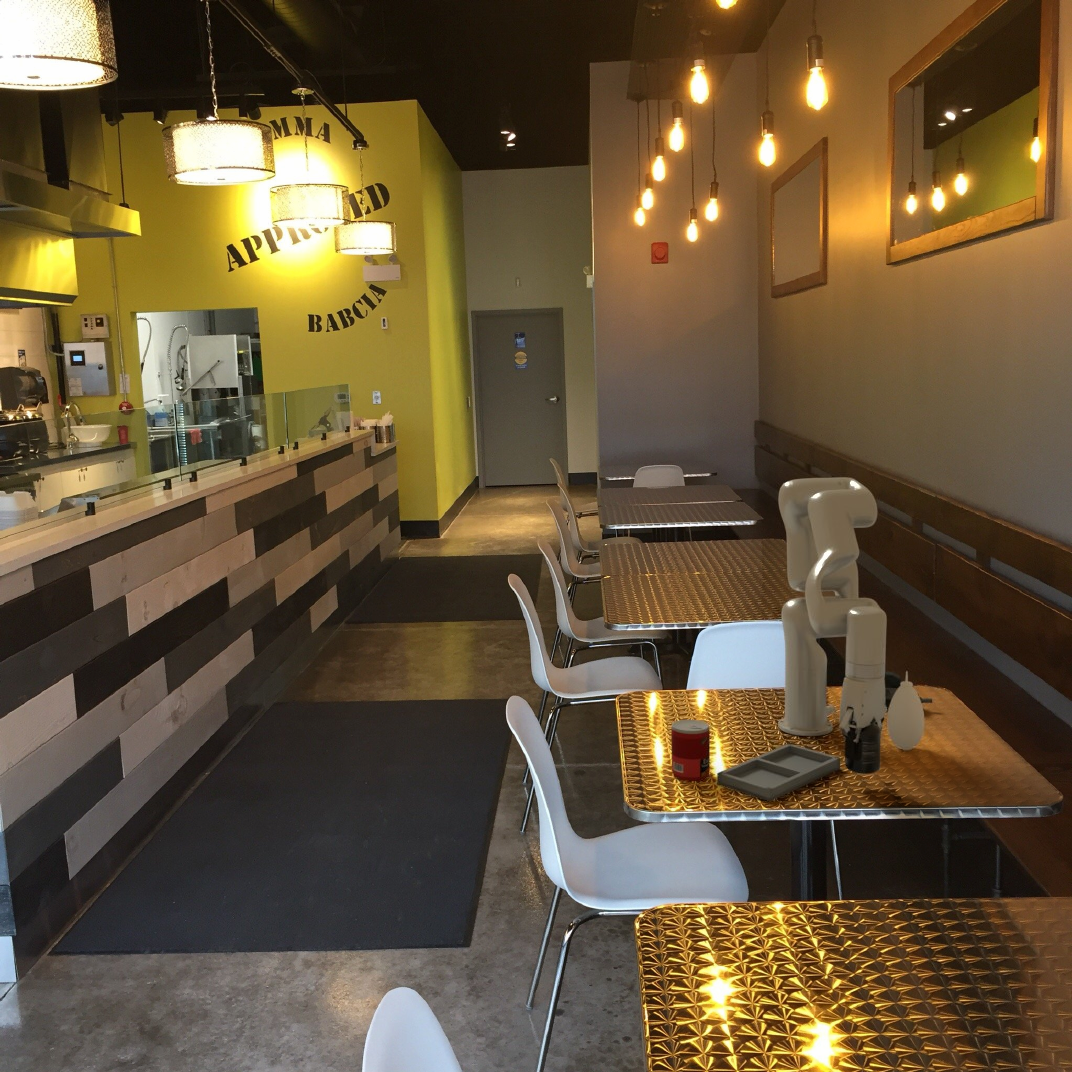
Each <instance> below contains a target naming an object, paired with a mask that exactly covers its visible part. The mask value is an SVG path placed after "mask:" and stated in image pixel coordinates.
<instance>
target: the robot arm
mask: <svg viewBox="0 0 1072 1072" xmlns="http://www.w3.org/2000/svg"><path fill="white" fill-rule="evenodd" d="M778 509H779V512H780V516H781V519H782V521H783V524H784V529H785V532H786V534H785V535H786V563H787V564H786V565H787V566H786V567H787V569H786V571H787V574H786V575H787V582H788V585H789V587H790V588H791V589H792V590H793V591H796V592H797V591H798V592H804V596H803V597H802V596H801V597H796V598H791V599H789V600H788V601H786V602H785V603H784V604H783V606H782V608H781V624H782V629H783V637H784V652H785V654H784V655H785V657H784V661H785V662H784V663H785V665H784V666H785V668H784V673H785V674H784V680H785V681H784V717H782V718H781V719H780V720H778V722H777V724H778V725H777V727H778V729H779V730H781V731H782V732H784V733H787V734H790V735H794V736H800V737H802V736H803V737H818V736H823V735H824V736H825V735H827V734H830V733H831V732H833V729H834V725H833V723H832V722H831V721H830V720H828V717H829V715H831V714H834V713H836V712H835V711H836V707H835V706H834V705H832V704H831V705H827V684H828V683H827V682H828V681H827V677H828V676H827V674H828V673H827V672H828V671H827V670H828V669H827V665H828V664H827V663H828V658H827V654H826V651H824V649H823V648H822V647H821V646H820V645H819V643H818V642H817V639H821V638H838V637H839V638H840V637H841V638H842V637H844V638H846V639H845V640H846V641H845V672H844V673H845V677H844V678H843V683H842V686H841V687H842V689H841V696H840V705H839V719H838V720H839V726H838V729H839V730H840V732H841V735H842V736H843V739H844V758H845V757H846V758H848V759H852V760H855V761H859V760H860V753H861V742H860V741H859V738H860V734H861V730H862V728H864V727H866V726H868V725H871V724H870V722H871V721H872V719H874V716H875V720H876V722H875V723H876V724H877V725H878V726H879V727H880V729H881V732H882V731H883V723H884V721H885V717H886V714H887V713H888V709H887V707H886V706H885V680H884V678H885V671H886V651H887V650H886V648H887V647H886V645H887V621H888V619H887V613H886V612H885V611H884V610H883V609H882V608H881V607H880V605H879V604H878V602H877V601H876V600H874V599H872V598H871V597H859V571H858V565H857V559H858V557H859V555H860V549H859V545H858V541H857V537H856V532H855V529H856V528H857V529H858V528H861V529H862V528H869V527H872V526H873V525H874V524H875V523H876V521H877V518H878V505H877V502H876V498H875V497H874V494H873V493H872V492H871V491H870V490H869V489H868V488H867V487H866V486H864V485H863V484H862V483H861V482H859V481H858V480H856V479H855V478H853V477H846V476H845V477H841V476H840V477H810V478H807V477H806V478H797V479H791V480H788V481H786V482H783V484H782V485H781V487H780V488H779V491H778ZM831 591H832V592H834V594H835V596H831V595H830V596H823V592H831ZM852 722H855V723H857V725H856V726H855V725H852ZM851 728H854V729H856V732H855V734H854V733H853V732H852V731H851Z"/></svg>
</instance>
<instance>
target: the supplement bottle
mask: <svg viewBox="0 0 1072 1072" xmlns="http://www.w3.org/2000/svg"><path fill="white" fill-rule="evenodd" d="M875 722H876V720H875V716H874V719H872V721H871V722H870V724H871V725H868V726H866V727H864V728H862V730H861V734H860V738H859V741H860V742H861V753H860V760H859V761H855V760H852V759H848V758H846V757H845V756H844V760H845V761H844V762H845V763H844V764H845V767H846V769H847V770H848V771H850V772H853V773H856V774H860V775H861V774H862V775H871V774H875V773H877V772H878V771H880V769H881V755H882V754H881V748H882V747H881V745H882V739H881V737H882V731H881V729H880V727H879V726H878V725H877V724H876V723H875ZM852 725H855V726H856V725H857V723H855V722H852ZM851 731H852V732H853V733H854V734H855V732H856V729H854V728H851Z"/></svg>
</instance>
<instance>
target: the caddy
mask: <svg viewBox="0 0 1072 1072" xmlns="http://www.w3.org/2000/svg"><path fill="white" fill-rule="evenodd" d="M839 770H841V757H838V756H835V755H833V754H832V755H831V754H828V753H825V752H820V751H817V750H813V749H810V748H806V747H802V746H798V745H796V744H795V745H794V744H792V743H787V744H784V745H782V746H780V747H777V748H775V749H774V748H773V749H772V750H769V751H767V752H765V753H763V754H760V755H758V756H755V757H752V758H751V759H748V760H745V761H743V762H741V763H739V764H735V765H734V766H732V767H728V768H726V769H724V770H722V771H718V772H717V775H716V778H717V779H716V781H717V782H716V783H717V786H719V787H723V788H726V789H729V790H733V791H735V792H738V791H740V792H739V793H741V792H743V793H742V794H744V793H745V794H744V795H747V794H748V795H747V796H750V795H751V796H750V797H753V796H754V798H756V797H758V798H757V799H759V798H761V799H760V800H762V799H764V800H763V801H765V800H768V801H771V800H773V801H775V800H777V799H779V798H781V797H784V796H786V795H787V794H790V793H792V792H794V791H796V790H798V789H800V788H803V787H805V786H807V785H809V784H811V783H813V782H815V781H817V780H819V779H822V778H824V777H826V776H828V775H831V774H832V773H835V772H837V771H839ZM791 791H792V792H791ZM789 792H790V793H789ZM785 794H786V795H785ZM780 796H781V797H780ZM778 797H779V798H778ZM776 798H777V799H776ZM774 799H775V800H774ZM768 801H767V802H768ZM771 802H772V801H771Z"/></svg>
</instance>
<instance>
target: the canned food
mask: <svg viewBox="0 0 1072 1072" xmlns="http://www.w3.org/2000/svg"><path fill="white" fill-rule="evenodd" d="M670 727H671V772H672V775H673V777H674V778H676V779H677V780H682V781H686V782H700V781H702V780H706V779H708V777H709V776H710V769H711V768H710V765H711V763H710V761H711V760H710V759H711V758H710V750H711V749H710V748H711V747H710V744H711V743H710V742H711V741H710V739H711V738H710V736H711V734H710V724H709V723H707V722H706V721H703V720H700V719H679V720H675V721H674V722H672V723H671V726H670Z"/></svg>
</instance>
